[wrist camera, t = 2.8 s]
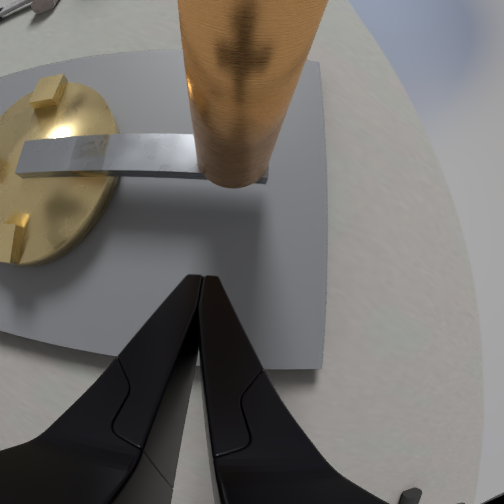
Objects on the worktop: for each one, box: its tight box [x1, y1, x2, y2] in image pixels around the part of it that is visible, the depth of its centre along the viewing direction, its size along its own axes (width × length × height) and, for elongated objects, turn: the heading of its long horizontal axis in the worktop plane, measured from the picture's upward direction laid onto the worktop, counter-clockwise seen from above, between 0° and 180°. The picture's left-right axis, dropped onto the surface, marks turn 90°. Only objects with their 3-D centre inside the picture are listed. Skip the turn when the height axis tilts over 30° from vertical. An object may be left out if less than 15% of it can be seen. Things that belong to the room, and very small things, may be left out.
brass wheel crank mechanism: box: [0, 0, 328, 267], centre depth 11 cm, size 24×14×15 cm, turn 87°
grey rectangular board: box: [0, 49, 328, 369], centre depth 19 cm, size 34×24×2 cm
